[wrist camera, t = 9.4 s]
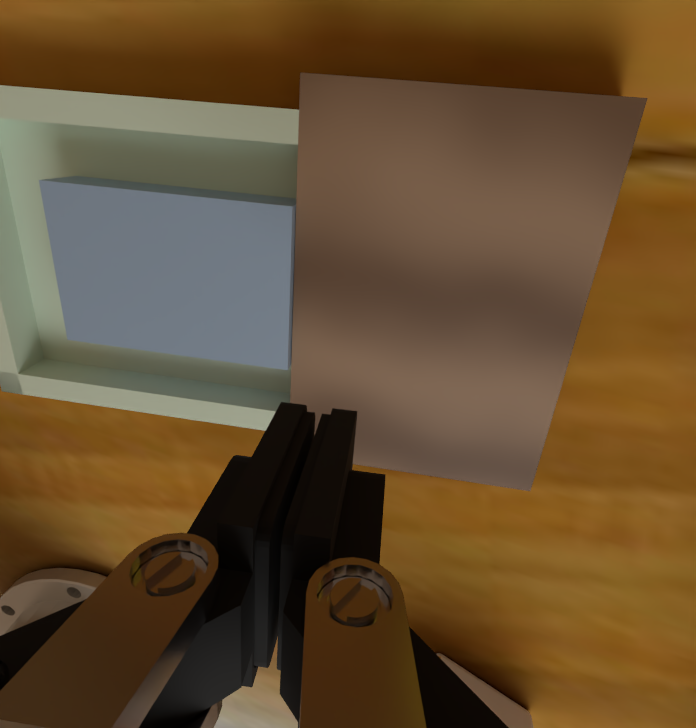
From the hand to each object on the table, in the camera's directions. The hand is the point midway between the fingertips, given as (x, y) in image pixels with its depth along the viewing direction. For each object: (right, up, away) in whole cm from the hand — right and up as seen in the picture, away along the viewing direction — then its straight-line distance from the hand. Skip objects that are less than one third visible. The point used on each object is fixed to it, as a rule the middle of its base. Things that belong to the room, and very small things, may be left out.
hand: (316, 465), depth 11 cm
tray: (-7, +6, +9) cm, 14 cm away
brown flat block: (+4, +5, +8) cm, 10 cm away
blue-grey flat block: (-6, +6, +9) cm, 12 cm away
